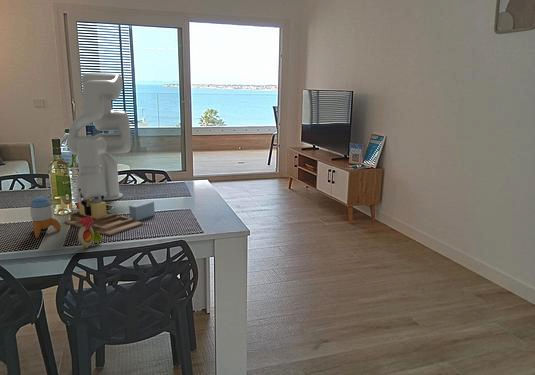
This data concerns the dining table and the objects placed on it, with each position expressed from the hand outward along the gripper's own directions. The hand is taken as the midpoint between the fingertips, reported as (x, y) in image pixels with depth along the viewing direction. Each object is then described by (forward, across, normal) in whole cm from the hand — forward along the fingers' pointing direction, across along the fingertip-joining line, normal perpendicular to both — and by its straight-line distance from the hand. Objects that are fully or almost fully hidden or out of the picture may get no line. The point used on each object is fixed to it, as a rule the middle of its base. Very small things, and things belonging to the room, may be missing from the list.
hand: (93, 213), depth 173 cm
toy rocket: (+4, +19, -5) cm, 20 cm away
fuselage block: (+1, 0, 0) cm, 1 cm away
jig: (+3, 0, +6) cm, 7 cm away
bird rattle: (+4, +18, +22) cm, 29 cm away
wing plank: (+3, -15, +12) cm, 19 cm away
